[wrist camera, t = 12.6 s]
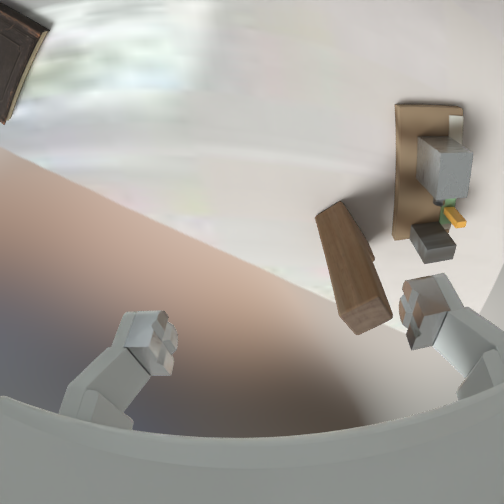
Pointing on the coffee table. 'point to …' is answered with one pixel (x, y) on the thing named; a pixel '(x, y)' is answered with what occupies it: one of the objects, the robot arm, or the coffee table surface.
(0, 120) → the hardcover book
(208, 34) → the coffee table surface
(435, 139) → the block
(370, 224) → the coffee table surface
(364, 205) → the coffee table surface
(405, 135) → the bench
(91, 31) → the coffee table surface
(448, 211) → the amber brick
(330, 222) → the wooden block
